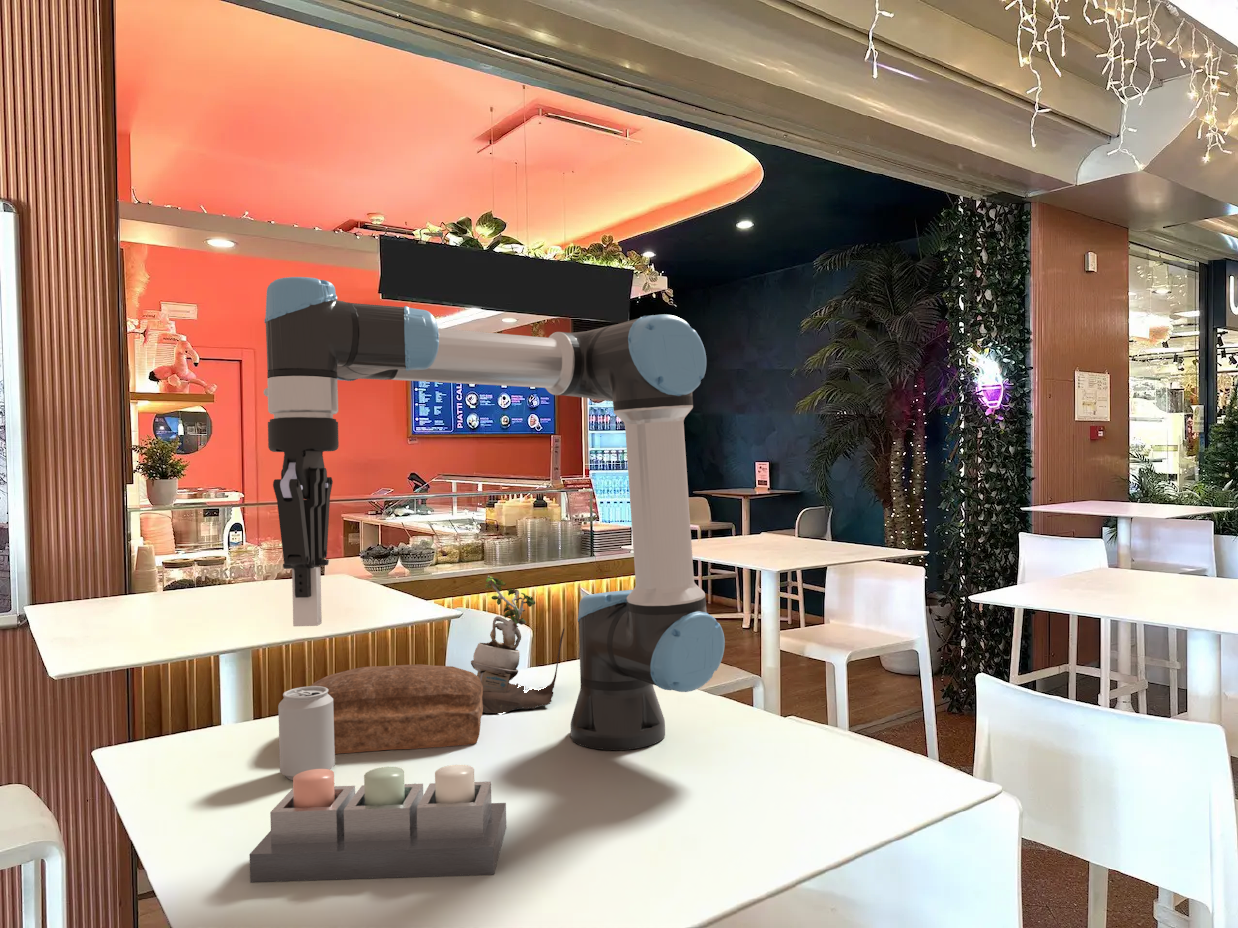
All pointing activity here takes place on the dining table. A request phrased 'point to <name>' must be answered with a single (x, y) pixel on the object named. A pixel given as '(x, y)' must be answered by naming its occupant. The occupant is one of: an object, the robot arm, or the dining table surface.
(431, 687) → the bread
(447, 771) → the button ivory
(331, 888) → the dining table surface
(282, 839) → the console
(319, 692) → the can
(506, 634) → the potted plant
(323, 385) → the robot arm
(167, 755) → the dining table surface
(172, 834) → the dining table surface
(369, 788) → the button sage
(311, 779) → the button coral
